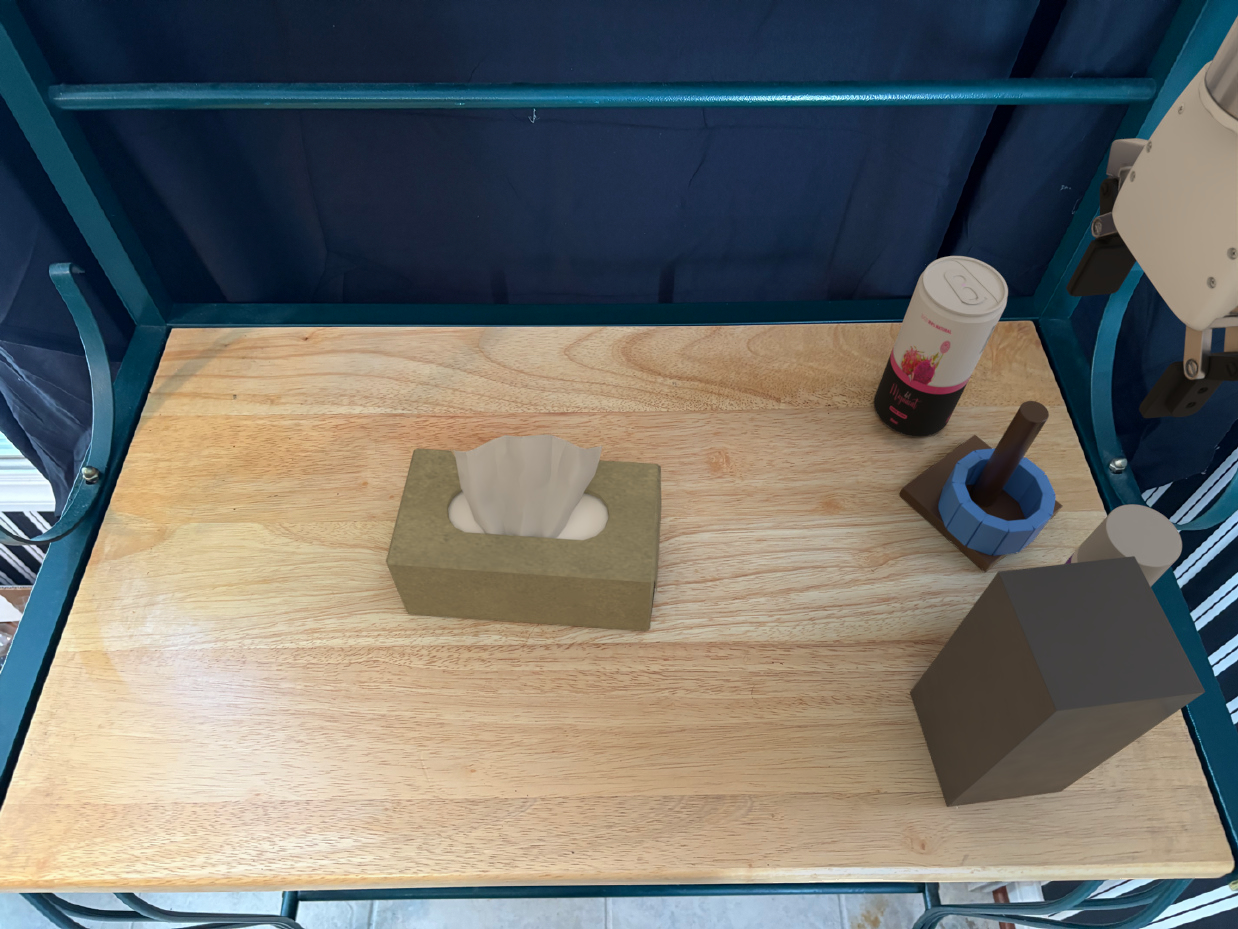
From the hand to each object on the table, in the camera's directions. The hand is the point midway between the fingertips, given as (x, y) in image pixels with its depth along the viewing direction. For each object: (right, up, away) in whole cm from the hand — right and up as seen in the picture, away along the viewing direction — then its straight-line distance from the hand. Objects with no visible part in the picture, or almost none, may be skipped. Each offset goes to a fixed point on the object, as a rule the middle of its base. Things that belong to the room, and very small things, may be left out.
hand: (1125, 348), depth 54 cm
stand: (-1, -10, +21) cm, 23 cm away
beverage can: (-4, -2, +26) cm, 27 cm away
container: (+2, -20, +14) cm, 24 cm away
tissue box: (-36, -15, +17) cm, 43 cm away
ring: (-1, -11, +19) cm, 22 cm away
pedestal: (-5, -26, +9) cm, 28 cm away
